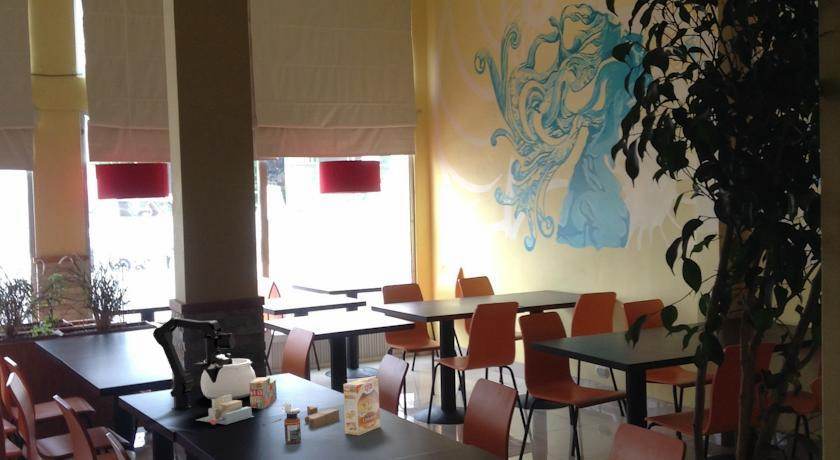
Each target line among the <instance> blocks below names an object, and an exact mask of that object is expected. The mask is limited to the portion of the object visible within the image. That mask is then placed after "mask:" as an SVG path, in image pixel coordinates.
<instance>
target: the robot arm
mask: <svg viewBox="0 0 840 460" xmlns="http://www.w3.org/2000/svg"><path fill="white" fill-rule="evenodd" d="M177 328H183V329H189V330H195V331H199V332H201V333H203V335H202V336H201V338H200V339H201V340H205V351H204V352H203V353H204V355H205V356H206V359H204V360H205V362H206V363H204V361H203V362H201V361H200V362H196V363H194V364H193V365H192V367H193V371H204V370H205V371H206V372H207V373H208V375H209V377H210V379H211V381H212V382H213V383H215V382H216V379H217V375H218V372H219V370H220V369H221V368H223V365H230V364H232V359H233V358H232V354H231V353H225V354H222V350H220V349H234V348H235V347H236V346H235V345H236V339H235V336H234V335H233V333H231V332H230V333H225V331H224V330H223V329H222V327H221V324H220V323H219V322H218V320H196V319H190V318H182V317H178V316H175V317H172V318H170V319H169V320H167V321H166V322H164V323H163V324H162V325H160V326H159V327H156V328H155V329H153V332H152V334H153V337H154V339H155V341H156V342H157V344H158V345H160V346H161V347H162V349H163V352H164V354H165V356H166V360H167V363H168V364H169V367H170V369H171V371H172V373H173V386H174V387H173V388H172V390H171V391H170V392H169V393H170V396H171V398H173V405H174V406H173V407H171V410H178V411H182V410H186V409H191V408H192V406H191V405H190V404H189V403H190V401H189V394H190V393H191V392H192V389H193V387H194V379H193V377H192V374H191V373H190V372H189V373H187V372H186V371H185V369H184V367H183V365H182V363H181V360H180V358H179V355H178V352H177V350H176V348H175V346H174V341H173V339H174V336H173V333H174V332H175V330H176V329H177Z"/></svg>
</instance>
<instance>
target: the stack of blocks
mask: <svg viewBox="0 0 840 460" xmlns="http://www.w3.org/2000/svg"><path fill="white" fill-rule="evenodd" d="M276 382H277V380H276V379H271V377H269V376H268V377H267V376H264V377H262V376H261V377H258V376H256V379H254V380H253V381H251V382H250V383H249V386H250V395H249V401H250V403H249V405H250V406H249V407H251V409H252V408H254V409H259V410H264V409H265V408H267V407H268V406H270V405H271V404H272V403H273V402H275V401H276V400H277V399H278V397H277V383H276Z"/></svg>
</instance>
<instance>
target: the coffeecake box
mask: <svg viewBox="0 0 840 460" xmlns="http://www.w3.org/2000/svg"><path fill="white" fill-rule="evenodd" d="M342 385H343V386H342V388H343V411H344V434H346V435H353V436H361V435H363V434H366V433H368V432H371V431H373V430H376V429H378V428H380V427H381V418H380V417H381V415H380V412H381V411H380V392H379V391H380V389H379V378H374V377H373V378H371V377H363V378H361V379H357V380H353V381H349V382H346V383H343V384H342Z"/></svg>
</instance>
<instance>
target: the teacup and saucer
mask: <svg viewBox="0 0 840 460" xmlns="http://www.w3.org/2000/svg"><path fill="white" fill-rule="evenodd" d="M283 407H284V408H283ZM281 409H282V411H281V412H283V413H287V412H293V411H294V412H297V413H299V412H300V411H301V408H300V407H297V408H293V409H292V403H285V404H282V407H281Z"/></svg>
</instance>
